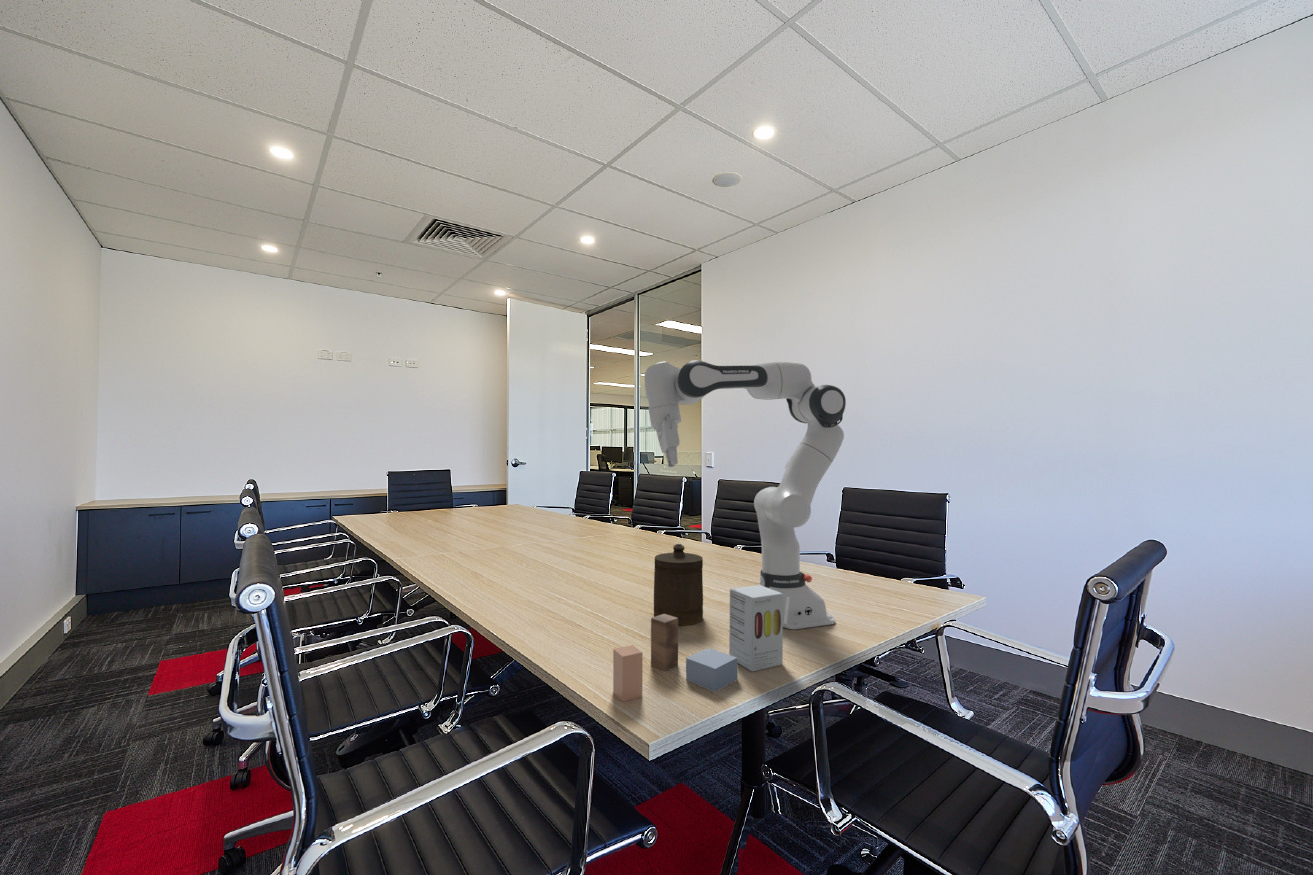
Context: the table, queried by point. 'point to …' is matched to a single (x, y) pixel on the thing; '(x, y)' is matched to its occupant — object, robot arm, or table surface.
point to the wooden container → (679, 586)
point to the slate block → (711, 669)
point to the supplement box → (756, 627)
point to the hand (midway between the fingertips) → (673, 465)
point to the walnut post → (664, 642)
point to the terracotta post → (627, 673)
